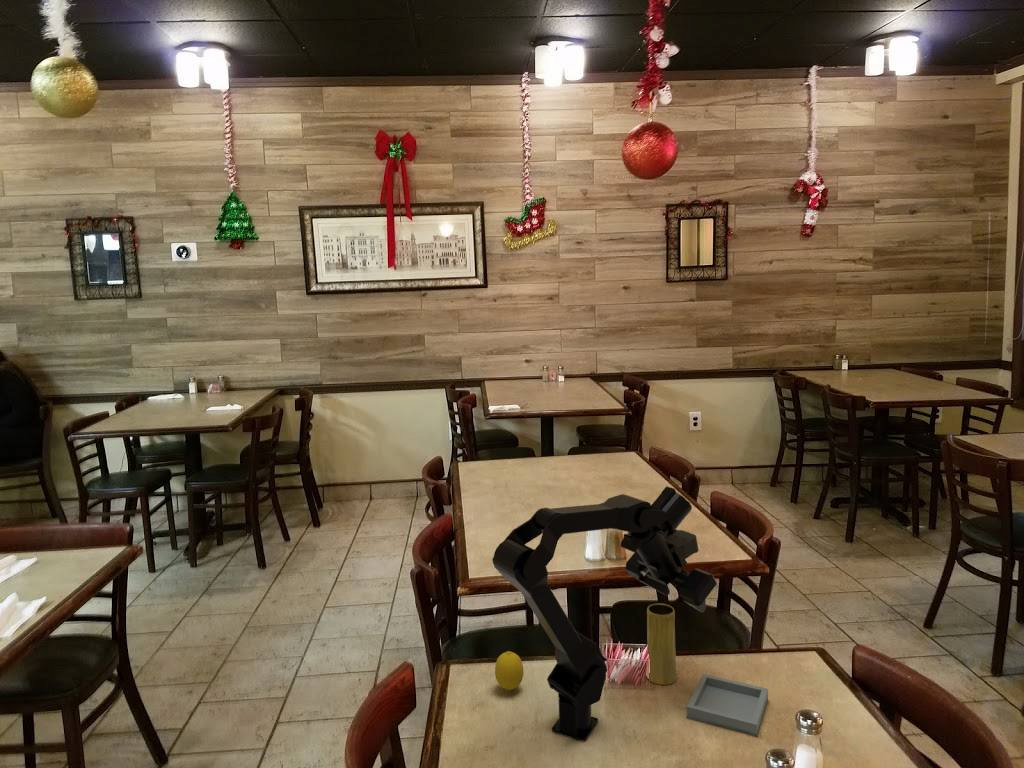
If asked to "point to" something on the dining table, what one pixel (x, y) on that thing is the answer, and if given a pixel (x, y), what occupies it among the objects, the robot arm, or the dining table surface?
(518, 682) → the lemon
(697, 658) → the dining table surface
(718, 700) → the tray
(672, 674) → the vase
